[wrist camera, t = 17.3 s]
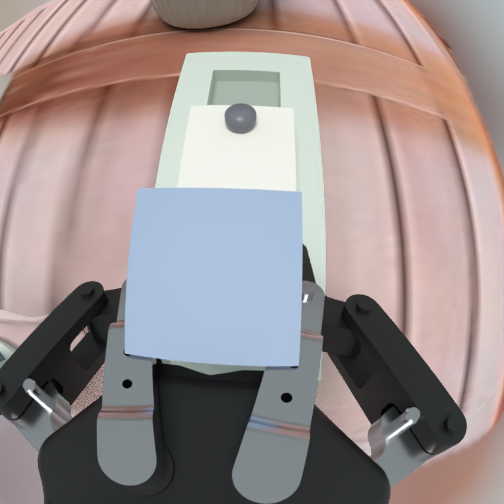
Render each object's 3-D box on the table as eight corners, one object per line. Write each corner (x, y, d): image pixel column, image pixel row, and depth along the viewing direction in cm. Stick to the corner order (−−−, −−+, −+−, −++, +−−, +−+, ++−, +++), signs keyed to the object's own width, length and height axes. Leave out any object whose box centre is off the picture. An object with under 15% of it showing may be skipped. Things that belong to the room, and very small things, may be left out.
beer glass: (78, 398, 18) (-43, 456, 3) (30, 348, 18) (-91, 362, 4) (106, 340, 19) (-48, 372, 4) (53, 291, 19) (-86, 269, 5)
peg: (202, 320, 17) (124, 353, 6) (205, 259, 18) (138, 188, 6) (263, 322, 17) (298, 366, 6) (265, 261, 18) (301, 191, 6)
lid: (184, 210, 18) (172, 192, 15) (196, 125, 19) (189, 98, 16) (289, 214, 18) (299, 196, 15) (288, 128, 19) (295, 101, 16)
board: (154, 364, 19) (142, 371, 16) (190, 69, 24) (186, 53, 21) (312, 371, 19) (320, 380, 17) (305, 73, 24) (309, 57, 21)
